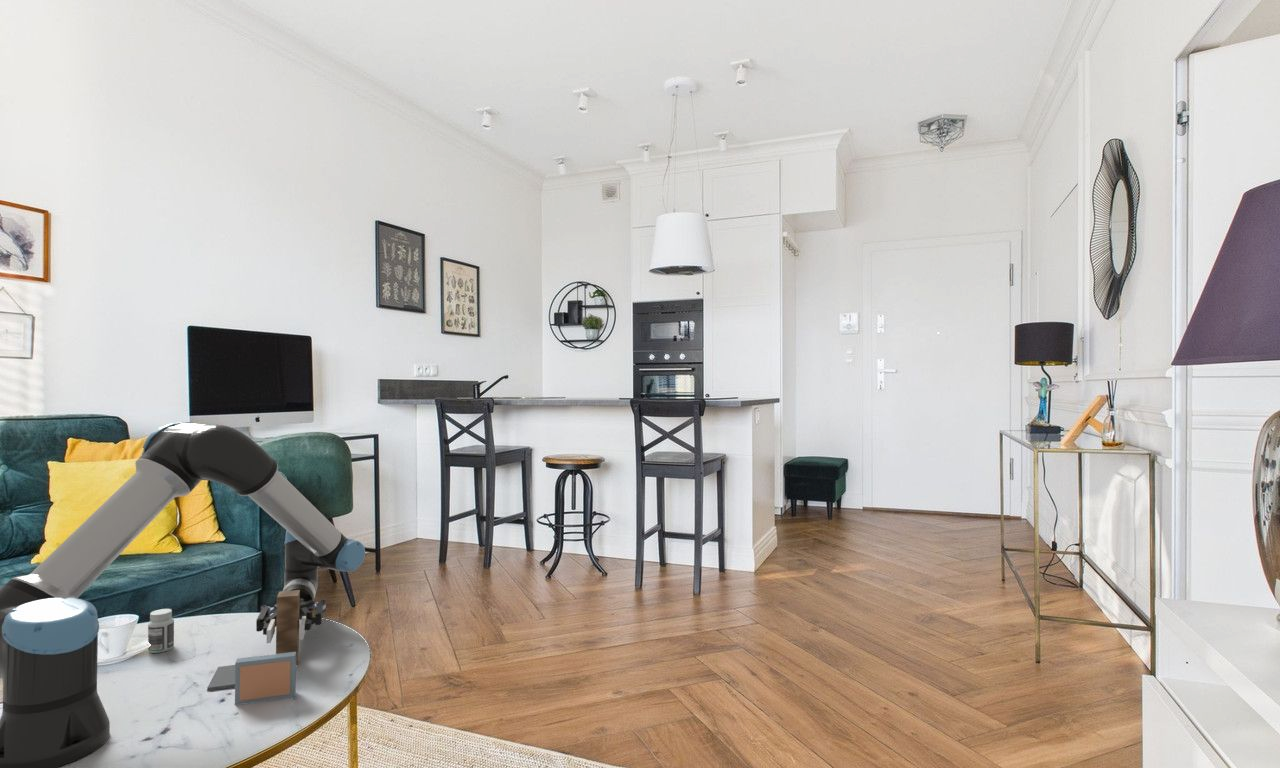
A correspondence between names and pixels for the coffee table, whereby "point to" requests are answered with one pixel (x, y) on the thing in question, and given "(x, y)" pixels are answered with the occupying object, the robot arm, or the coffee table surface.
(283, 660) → the tile
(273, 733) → the coffee table surface
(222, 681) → the plate
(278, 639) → the tall wooden pillar
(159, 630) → the pill bottle
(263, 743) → the coffee table surface
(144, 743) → the coffee table surface
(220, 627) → the coffee table surface
